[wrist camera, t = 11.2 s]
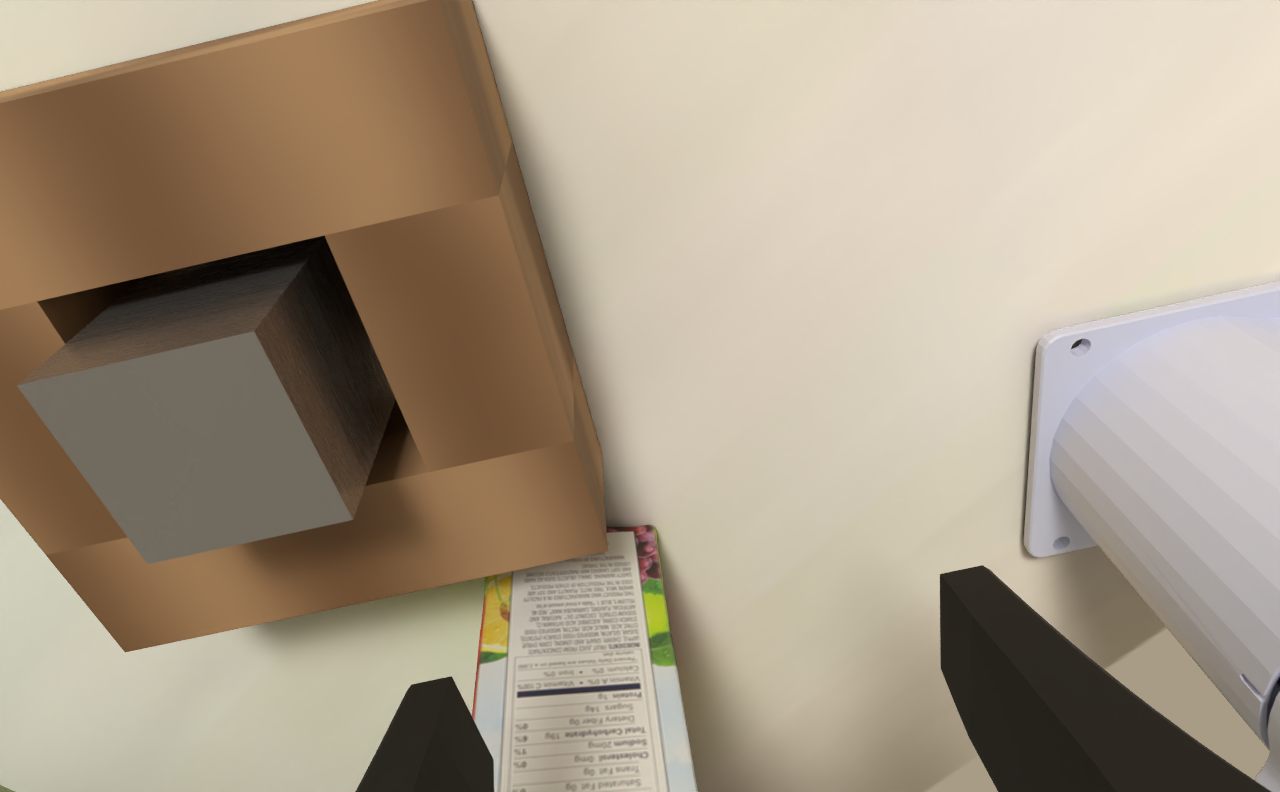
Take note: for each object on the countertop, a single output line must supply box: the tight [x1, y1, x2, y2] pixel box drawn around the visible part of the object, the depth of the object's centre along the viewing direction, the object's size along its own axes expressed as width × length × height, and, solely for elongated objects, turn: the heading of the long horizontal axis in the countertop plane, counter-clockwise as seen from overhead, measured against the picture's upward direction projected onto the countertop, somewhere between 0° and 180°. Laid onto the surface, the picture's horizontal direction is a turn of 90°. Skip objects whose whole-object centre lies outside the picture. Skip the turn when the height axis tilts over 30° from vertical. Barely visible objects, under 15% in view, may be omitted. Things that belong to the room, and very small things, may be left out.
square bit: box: [17, 236, 396, 564], centre depth 17 cm, size 4×4×6 cm
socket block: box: [0, 0, 608, 652], centre depth 18 cm, size 12×12×4 cm
